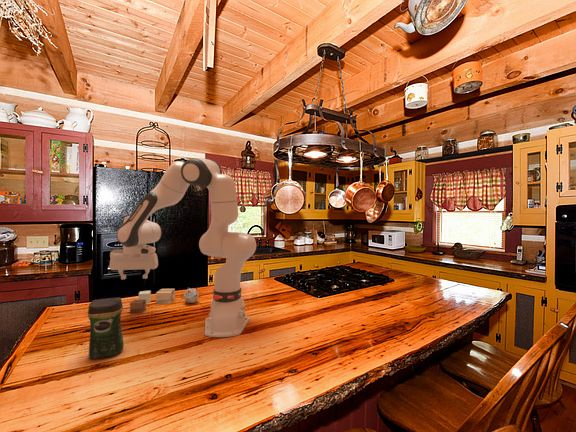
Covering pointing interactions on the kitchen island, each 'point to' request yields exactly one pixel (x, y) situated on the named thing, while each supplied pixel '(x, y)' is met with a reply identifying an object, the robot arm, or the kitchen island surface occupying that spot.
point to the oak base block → (165, 296)
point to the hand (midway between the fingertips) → (134, 278)
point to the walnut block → (137, 306)
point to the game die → (191, 295)
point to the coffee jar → (105, 328)
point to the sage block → (145, 296)
